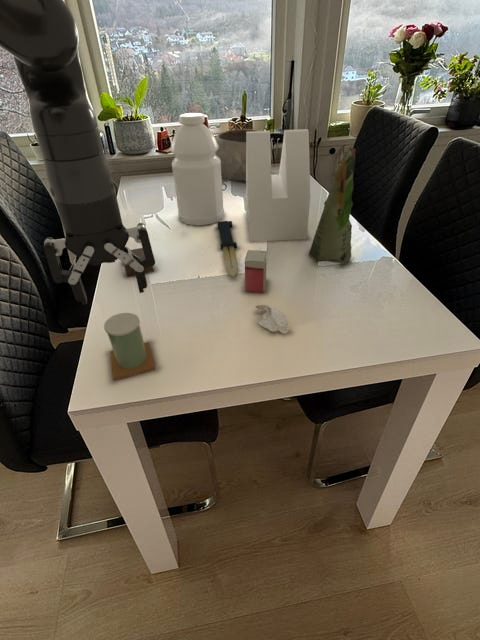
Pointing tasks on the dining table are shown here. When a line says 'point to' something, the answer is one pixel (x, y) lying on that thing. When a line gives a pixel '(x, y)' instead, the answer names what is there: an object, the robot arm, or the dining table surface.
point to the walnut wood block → (139, 253)
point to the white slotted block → (278, 187)
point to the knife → (228, 246)
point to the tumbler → (126, 340)
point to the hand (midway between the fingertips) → (113, 295)
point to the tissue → (273, 319)
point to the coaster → (123, 373)
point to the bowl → (233, 153)
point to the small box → (255, 271)
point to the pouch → (336, 216)
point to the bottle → (197, 172)
